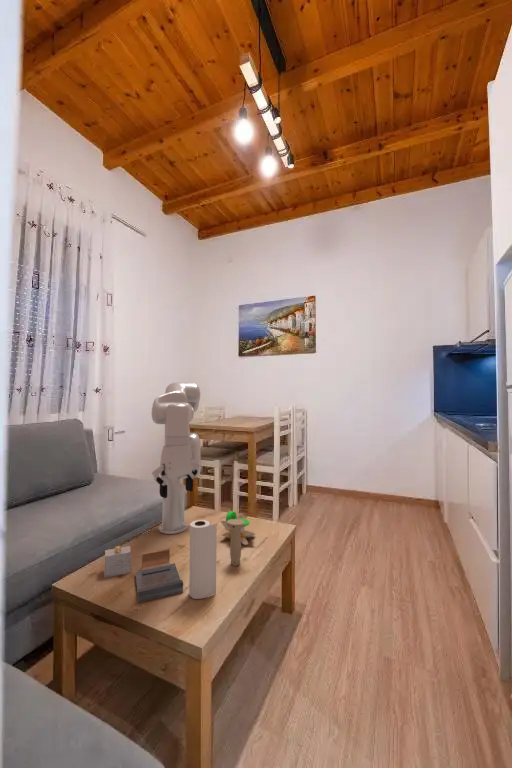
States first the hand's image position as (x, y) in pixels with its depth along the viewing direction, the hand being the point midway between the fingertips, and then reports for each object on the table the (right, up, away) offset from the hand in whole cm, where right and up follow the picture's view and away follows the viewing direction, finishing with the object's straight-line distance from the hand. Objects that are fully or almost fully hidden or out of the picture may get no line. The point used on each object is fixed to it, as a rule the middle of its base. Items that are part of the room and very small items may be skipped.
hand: (176, 493), depth 107 cm
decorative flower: (+20, -30, +28) cm, 45 cm away
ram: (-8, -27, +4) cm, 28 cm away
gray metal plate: (-5, -28, -2) cm, 29 cm away
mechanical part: (+18, -30, +42) cm, 55 cm away
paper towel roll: (+9, -28, -8) cm, 31 cm away
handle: (+19, -29, +10) cm, 36 cm away
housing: (-22, -29, +5) cm, 36 cm away
